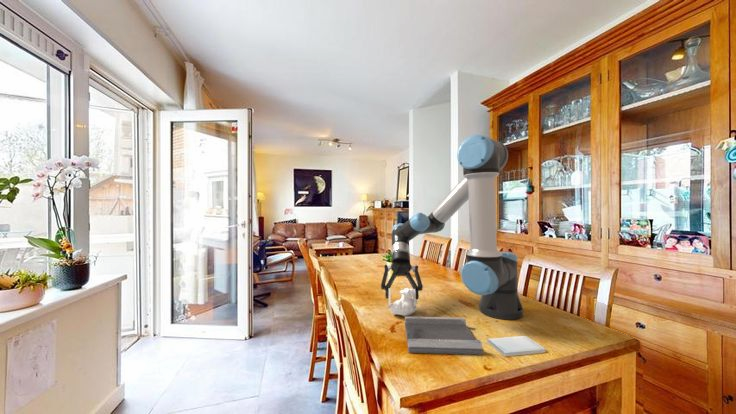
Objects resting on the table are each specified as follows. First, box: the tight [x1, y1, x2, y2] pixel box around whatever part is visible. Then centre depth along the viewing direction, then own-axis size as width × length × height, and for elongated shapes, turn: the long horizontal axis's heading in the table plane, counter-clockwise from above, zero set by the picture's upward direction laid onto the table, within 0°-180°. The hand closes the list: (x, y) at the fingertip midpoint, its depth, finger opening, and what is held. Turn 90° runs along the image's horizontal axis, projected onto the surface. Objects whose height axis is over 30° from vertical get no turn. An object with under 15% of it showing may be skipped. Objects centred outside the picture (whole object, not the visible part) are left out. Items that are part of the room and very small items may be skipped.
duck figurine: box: [389, 287, 418, 317], centre depth 102 cm, size 12×8×11 cm
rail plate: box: [404, 316, 484, 356], centre depth 84 cm, size 20×18×3 cm
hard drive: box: [486, 335, 547, 357], centre depth 78 cm, size 2×8×12 cm
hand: (402, 306), depth 99 cm, fingers closed on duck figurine, 9 cm apart
